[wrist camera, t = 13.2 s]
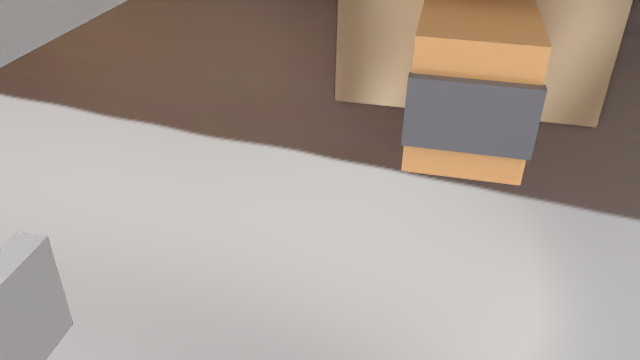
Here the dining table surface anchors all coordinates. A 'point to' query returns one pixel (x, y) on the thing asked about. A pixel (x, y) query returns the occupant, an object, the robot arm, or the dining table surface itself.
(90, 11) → the equipment case
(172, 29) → the dining table surface
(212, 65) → the dining table surface
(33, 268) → the robot arm
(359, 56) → the metal plate
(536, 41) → the tan and grey block
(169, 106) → the dining table surface
